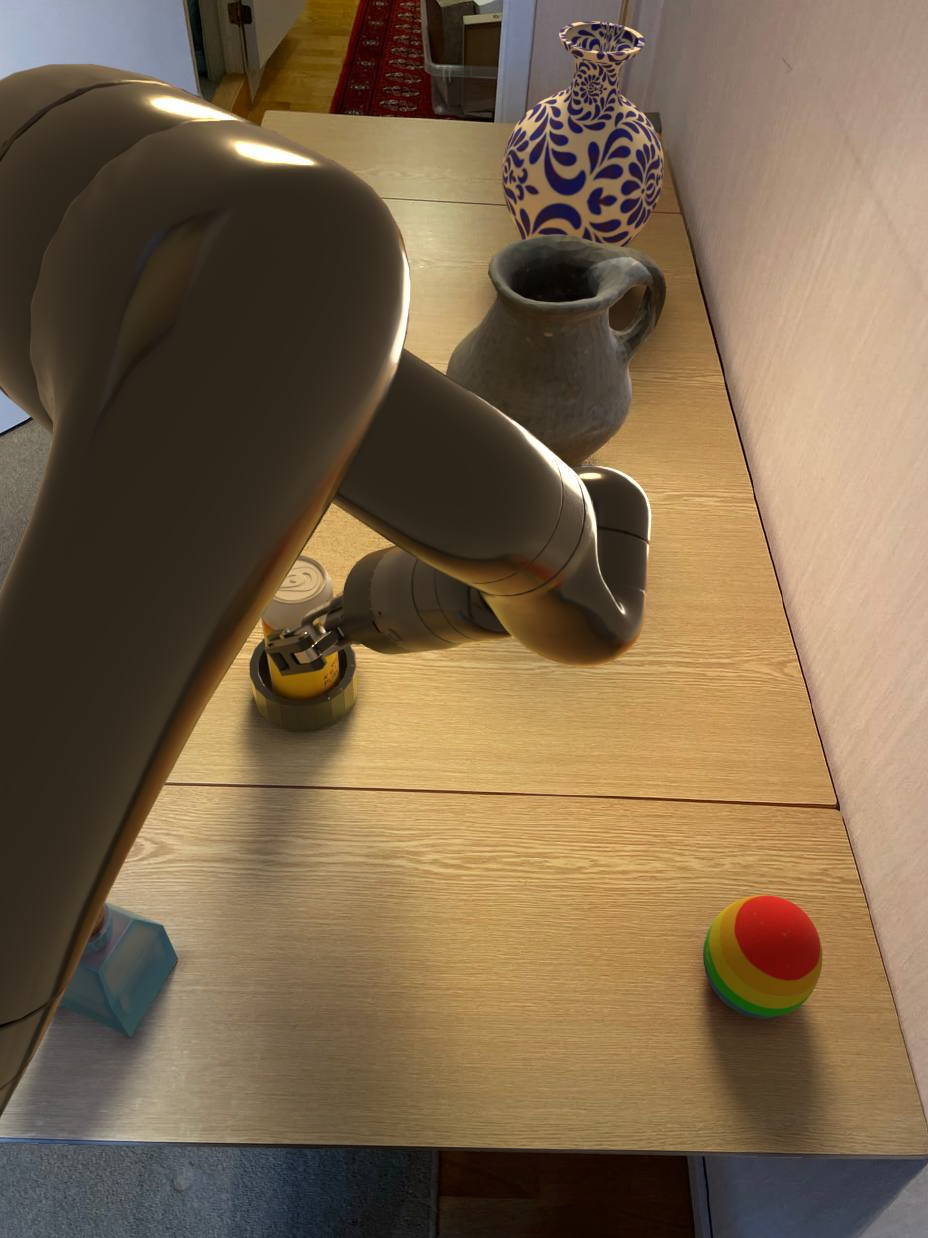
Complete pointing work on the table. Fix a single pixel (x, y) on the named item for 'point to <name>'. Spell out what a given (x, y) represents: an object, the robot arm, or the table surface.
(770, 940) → the striped foam ball
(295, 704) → the round brown bowl
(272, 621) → the beer can
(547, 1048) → the table surface
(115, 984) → the perfume bottle
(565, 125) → the vase
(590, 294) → the pitcher
